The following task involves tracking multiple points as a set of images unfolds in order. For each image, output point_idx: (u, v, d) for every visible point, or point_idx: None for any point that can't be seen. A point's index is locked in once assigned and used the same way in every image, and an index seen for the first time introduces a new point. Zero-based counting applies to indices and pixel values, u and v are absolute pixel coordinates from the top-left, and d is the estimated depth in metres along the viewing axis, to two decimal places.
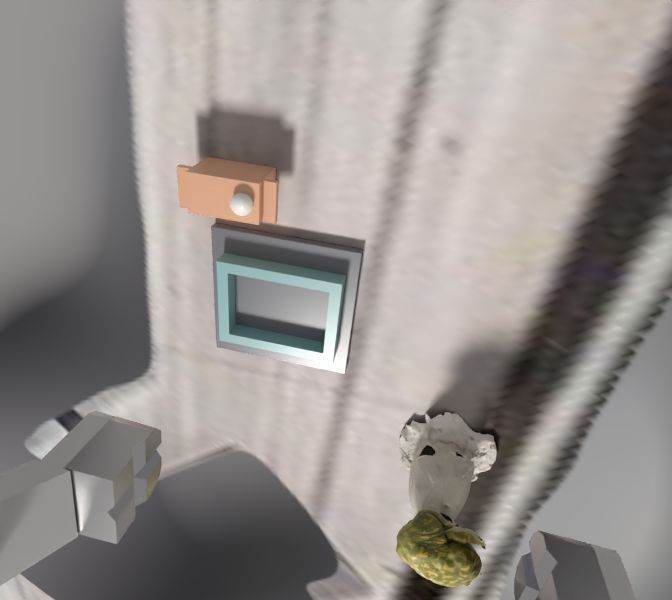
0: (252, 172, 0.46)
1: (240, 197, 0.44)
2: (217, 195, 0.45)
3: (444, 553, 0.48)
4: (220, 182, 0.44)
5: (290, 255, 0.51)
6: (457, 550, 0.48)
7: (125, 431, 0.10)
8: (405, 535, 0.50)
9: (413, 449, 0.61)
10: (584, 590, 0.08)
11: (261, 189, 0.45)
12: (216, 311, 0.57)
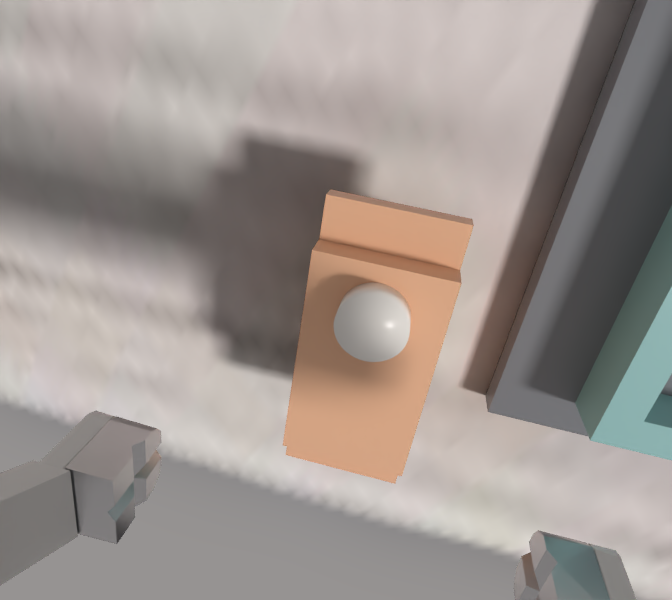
0: None
1: (342, 323, 0.13)
2: (349, 385, 0.15)
3: None
4: (311, 368, 0.15)
5: (630, 201, 0.15)
6: None
7: (125, 431, 0.10)
8: None
9: None
10: (585, 590, 0.08)
11: (342, 248, 0.14)
12: None
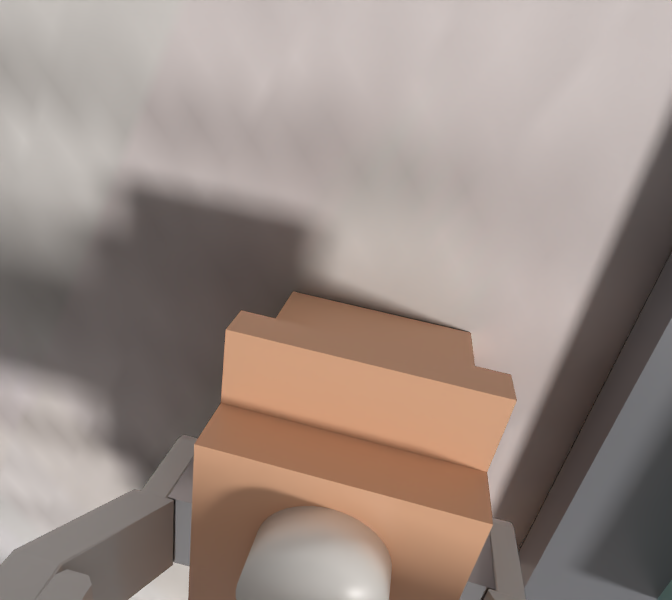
0: None
1: (252, 595, 0.06)
2: None
3: None
4: None
5: None
6: None
7: None
8: None
9: None
10: None
11: (260, 428, 0.07)
12: None
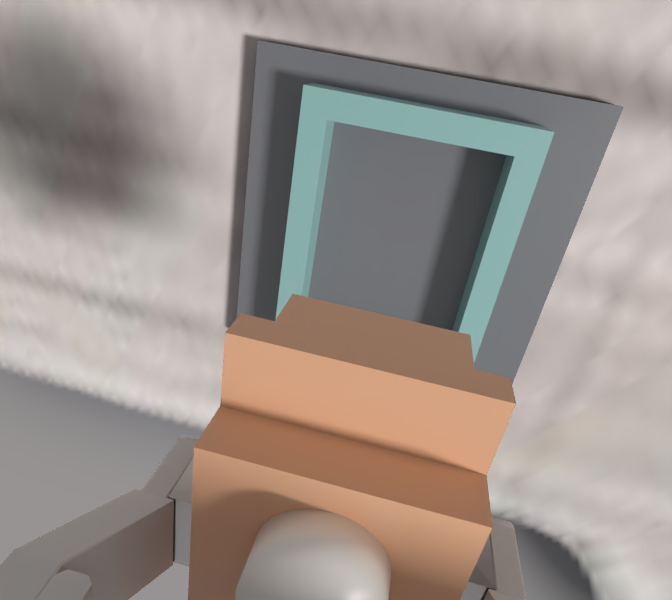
0: None
1: (251, 599, 0.06)
2: None
3: None
4: None
5: (276, 205, 0.25)
6: None
7: None
8: None
9: None
10: None
11: (260, 431, 0.07)
12: None
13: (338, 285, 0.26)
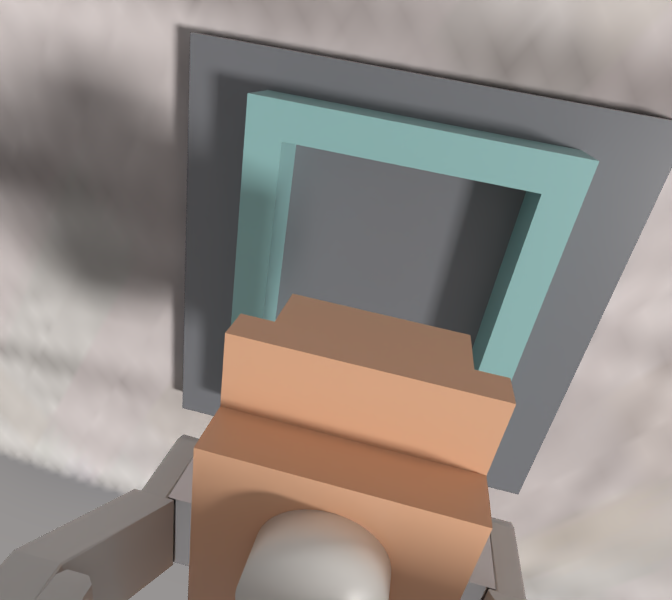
0: None
1: (251, 599, 0.06)
2: None
3: None
4: None
5: (225, 247, 0.19)
6: None
7: None
8: None
9: None
10: None
11: (260, 431, 0.07)
12: None
13: None
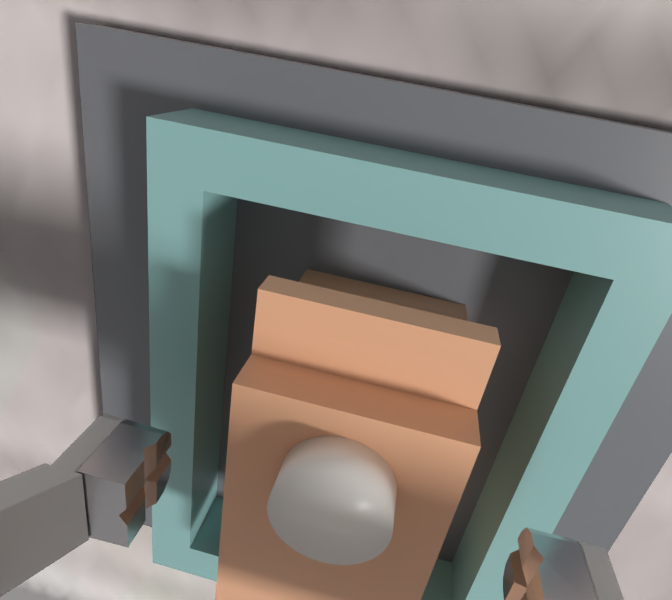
0: None
1: (280, 508, 0.08)
2: (304, 570, 0.10)
3: None
4: (245, 543, 0.10)
5: None
6: None
7: (136, 434, 0.10)
8: None
9: None
10: (571, 587, 0.09)
11: (286, 372, 0.08)
12: None
13: None
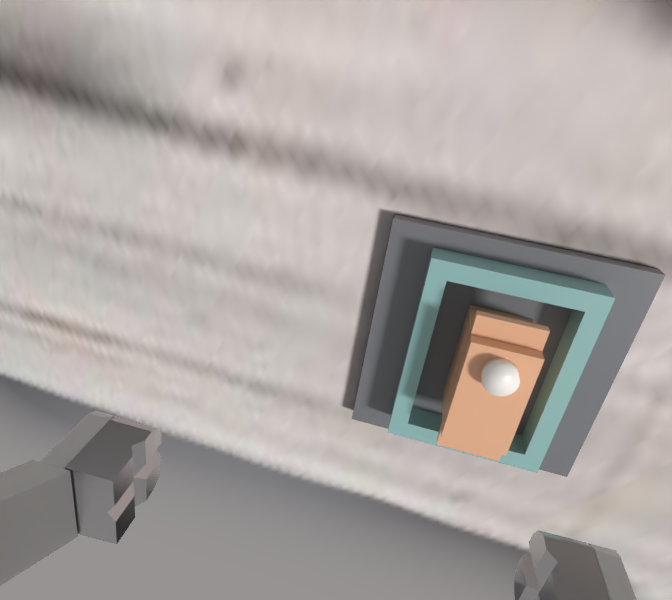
0: (463, 343, 0.30)
1: (486, 377, 0.27)
2: (482, 407, 0.29)
3: None
4: (463, 397, 0.29)
5: (395, 326, 0.34)
6: None
7: (125, 431, 0.10)
8: None
9: None
10: (585, 591, 0.08)
11: (483, 340, 0.28)
12: None
13: (439, 383, 0.35)
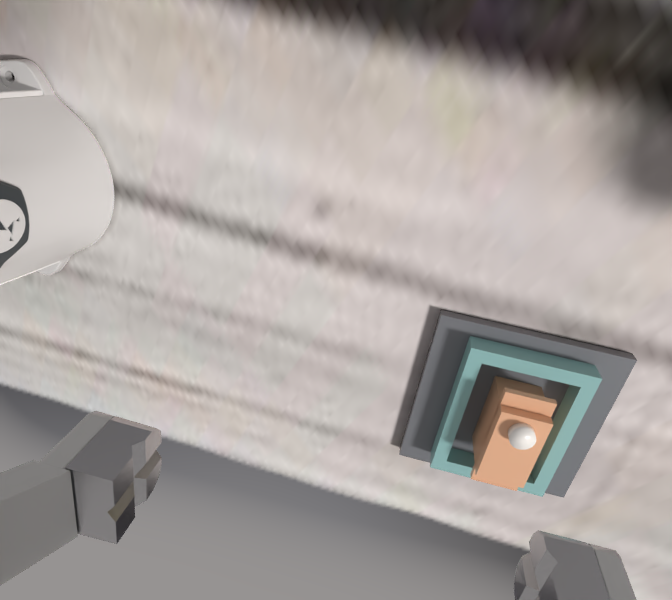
0: (492, 407, 0.41)
1: (512, 437, 0.38)
2: (507, 455, 0.40)
3: None
4: (493, 448, 0.40)
5: (438, 389, 0.44)
6: None
7: (125, 431, 0.10)
8: None
9: None
10: (584, 590, 0.08)
11: (510, 409, 0.39)
12: None
13: (469, 430, 0.46)
